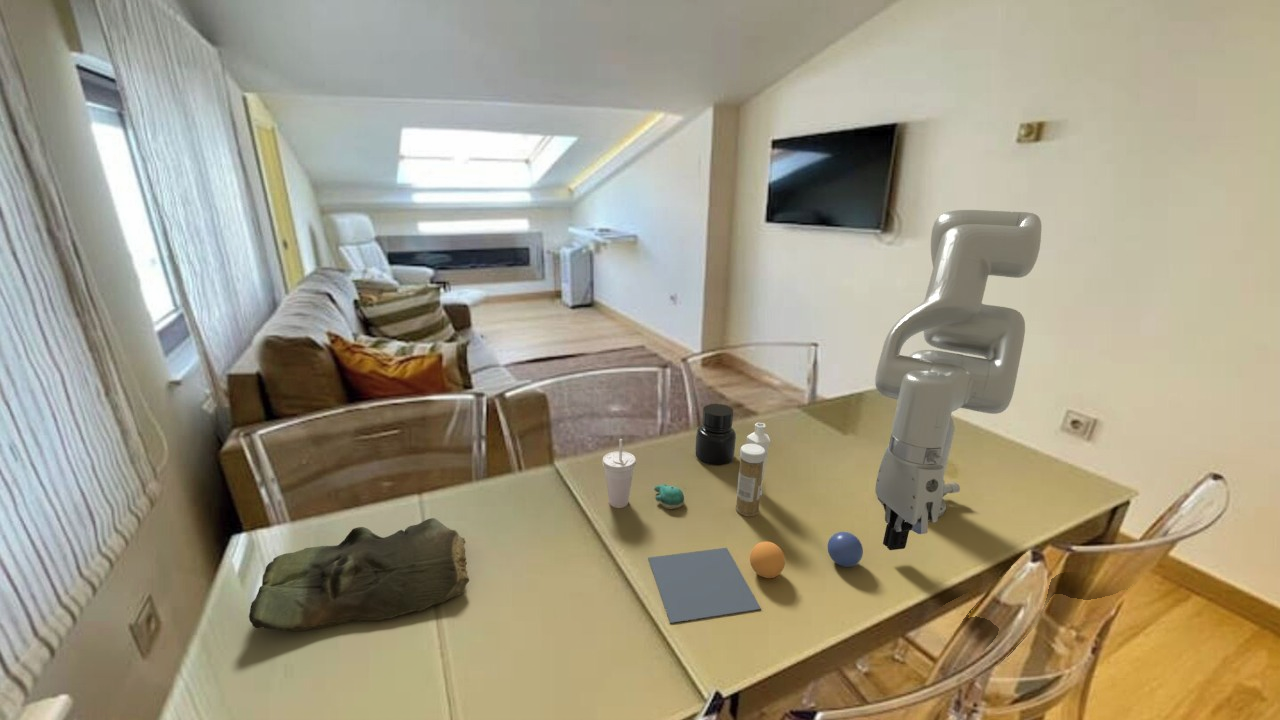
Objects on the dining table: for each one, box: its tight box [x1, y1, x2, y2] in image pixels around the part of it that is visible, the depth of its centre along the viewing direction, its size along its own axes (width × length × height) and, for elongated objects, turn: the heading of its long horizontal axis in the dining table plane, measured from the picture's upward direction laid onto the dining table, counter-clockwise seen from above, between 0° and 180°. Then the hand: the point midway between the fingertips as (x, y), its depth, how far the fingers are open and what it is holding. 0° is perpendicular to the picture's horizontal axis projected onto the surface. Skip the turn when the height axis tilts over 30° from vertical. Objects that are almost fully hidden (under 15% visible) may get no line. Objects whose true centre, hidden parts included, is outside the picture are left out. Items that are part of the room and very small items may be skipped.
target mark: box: [647, 547, 762, 624], centre depth 83 cm, size 14×14×1 cm
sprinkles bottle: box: [735, 443, 765, 517], centre depth 100 cm, size 5×5×13 cm
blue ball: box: [827, 531, 864, 568], centre depth 87 cm, size 6×6×6 cm
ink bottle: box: [695, 403, 737, 466], centre depth 120 cm, size 10×9×12 cm
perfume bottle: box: [746, 422, 771, 496], centre depth 106 cm, size 5×4×15 cm
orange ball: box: [749, 541, 786, 579], centre depth 84 cm, size 6×6×6 cm
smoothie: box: [602, 438, 637, 509], centre depth 101 cm, size 6×6×14 cm
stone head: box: [248, 517, 470, 632], centre depth 81 cm, size 19×8×28 cm
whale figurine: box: [653, 483, 685, 510], centre depth 104 cm, size 6×7×4 cm
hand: (893, 546), depth 89 cm, fingers closed
